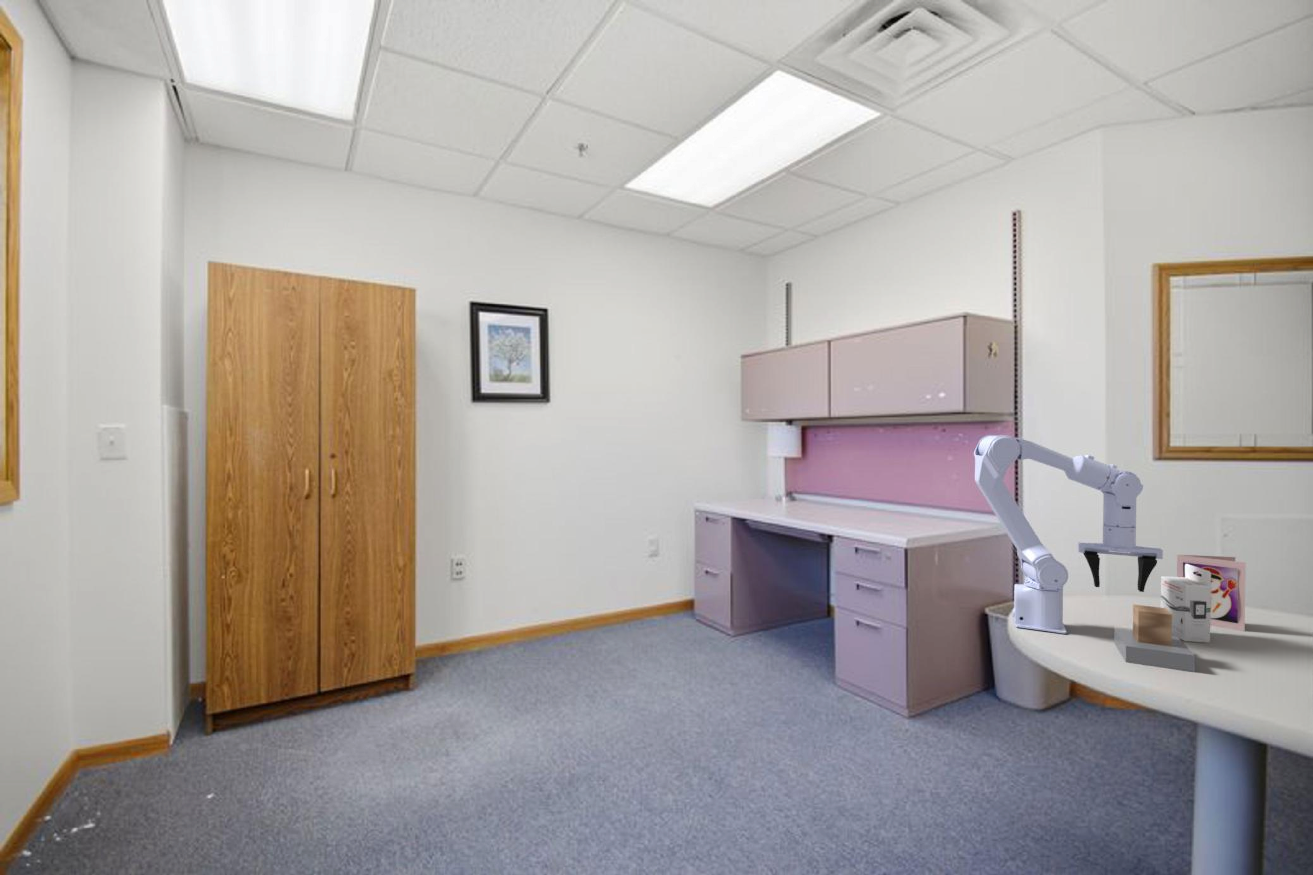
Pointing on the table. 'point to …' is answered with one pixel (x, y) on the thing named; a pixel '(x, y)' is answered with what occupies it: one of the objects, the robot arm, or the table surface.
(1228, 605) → the greeting card
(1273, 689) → the table surface
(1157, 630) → the walnut block
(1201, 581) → the ink box
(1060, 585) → the robot arm
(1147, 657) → the gray rectangular slab
